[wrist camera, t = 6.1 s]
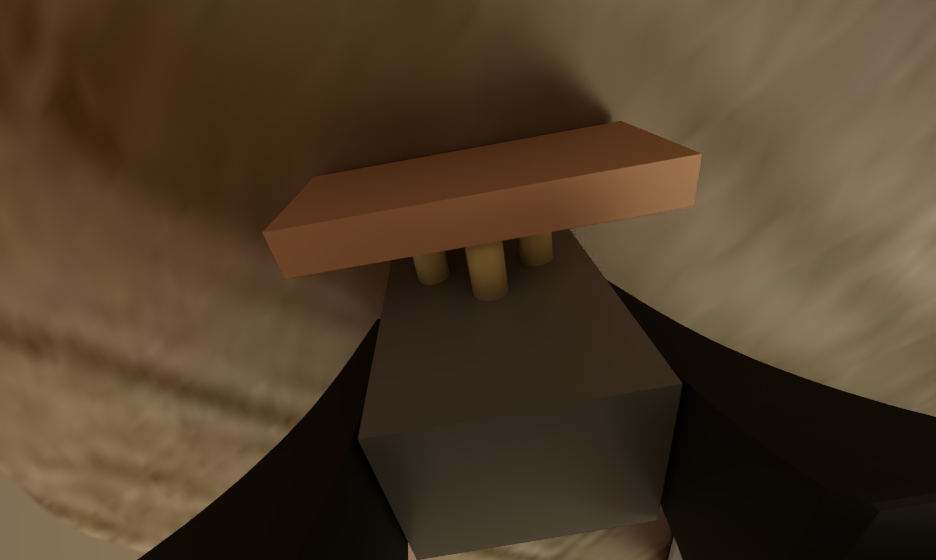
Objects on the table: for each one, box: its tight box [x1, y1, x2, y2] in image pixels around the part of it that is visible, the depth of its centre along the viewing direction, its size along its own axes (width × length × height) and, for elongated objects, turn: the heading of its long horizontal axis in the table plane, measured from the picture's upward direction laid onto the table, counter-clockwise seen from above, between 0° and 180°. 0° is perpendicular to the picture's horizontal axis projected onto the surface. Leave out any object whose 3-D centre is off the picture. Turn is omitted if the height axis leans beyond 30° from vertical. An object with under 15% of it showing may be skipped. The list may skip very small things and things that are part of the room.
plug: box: [358, 229, 683, 560], centre depth 9 cm, size 6×5×6 cm
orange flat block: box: [262, 121, 702, 279], centre depth 9 cm, size 1×8×4 cm, turn 99°
